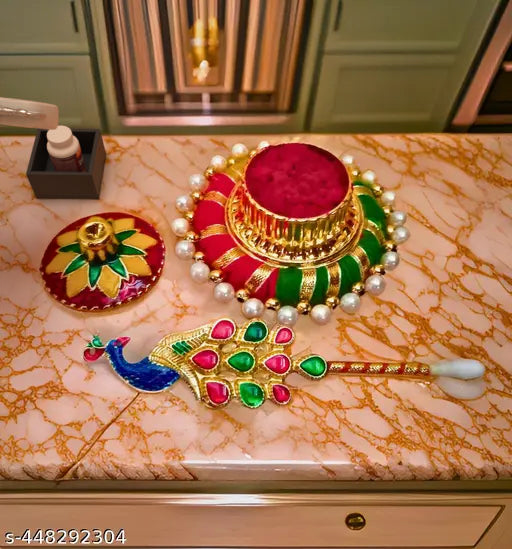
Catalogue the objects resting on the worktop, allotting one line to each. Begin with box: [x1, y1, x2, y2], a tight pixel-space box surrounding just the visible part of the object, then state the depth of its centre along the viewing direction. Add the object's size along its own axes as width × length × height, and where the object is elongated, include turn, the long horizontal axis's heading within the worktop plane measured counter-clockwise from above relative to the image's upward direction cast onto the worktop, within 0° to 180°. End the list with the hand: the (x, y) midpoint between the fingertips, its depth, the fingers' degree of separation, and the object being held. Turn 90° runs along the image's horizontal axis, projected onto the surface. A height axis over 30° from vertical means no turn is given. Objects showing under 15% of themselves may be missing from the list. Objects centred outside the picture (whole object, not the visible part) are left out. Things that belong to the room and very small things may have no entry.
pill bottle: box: [47, 125, 87, 172], centre depth 115 cm, size 6×6×11 cm
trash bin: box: [25, 128, 107, 200], centre depth 118 cm, size 13×13×7 cm
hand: (10, 112), depth 91 cm, fingers open, 8 cm apart
